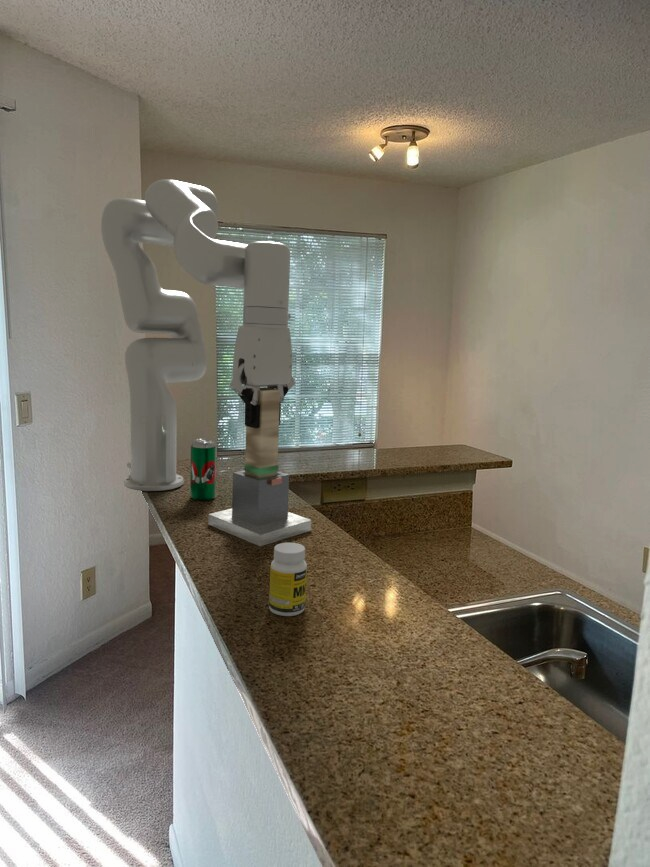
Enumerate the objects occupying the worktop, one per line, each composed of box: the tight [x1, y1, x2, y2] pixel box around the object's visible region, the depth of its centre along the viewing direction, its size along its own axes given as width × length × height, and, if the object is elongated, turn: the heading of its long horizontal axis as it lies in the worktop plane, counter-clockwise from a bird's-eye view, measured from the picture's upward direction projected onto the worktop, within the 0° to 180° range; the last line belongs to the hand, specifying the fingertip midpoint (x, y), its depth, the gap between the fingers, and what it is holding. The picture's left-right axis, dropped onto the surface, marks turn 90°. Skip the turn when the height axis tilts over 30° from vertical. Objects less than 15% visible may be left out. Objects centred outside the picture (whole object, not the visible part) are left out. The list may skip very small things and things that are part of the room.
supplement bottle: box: [268, 542, 308, 617], centre depth 81 cm, size 5×5×8 cm
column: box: [243, 386, 280, 479], centre depth 109 cm, size 4×4×16 cm
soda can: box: [189, 438, 217, 502], centre depth 127 cm, size 5×5×12 cm
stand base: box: [208, 470, 312, 547], centre depth 111 cm, size 14×12×10 cm
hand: (262, 424), depth 108 cm, fingers closed on column, 4 cm apart
